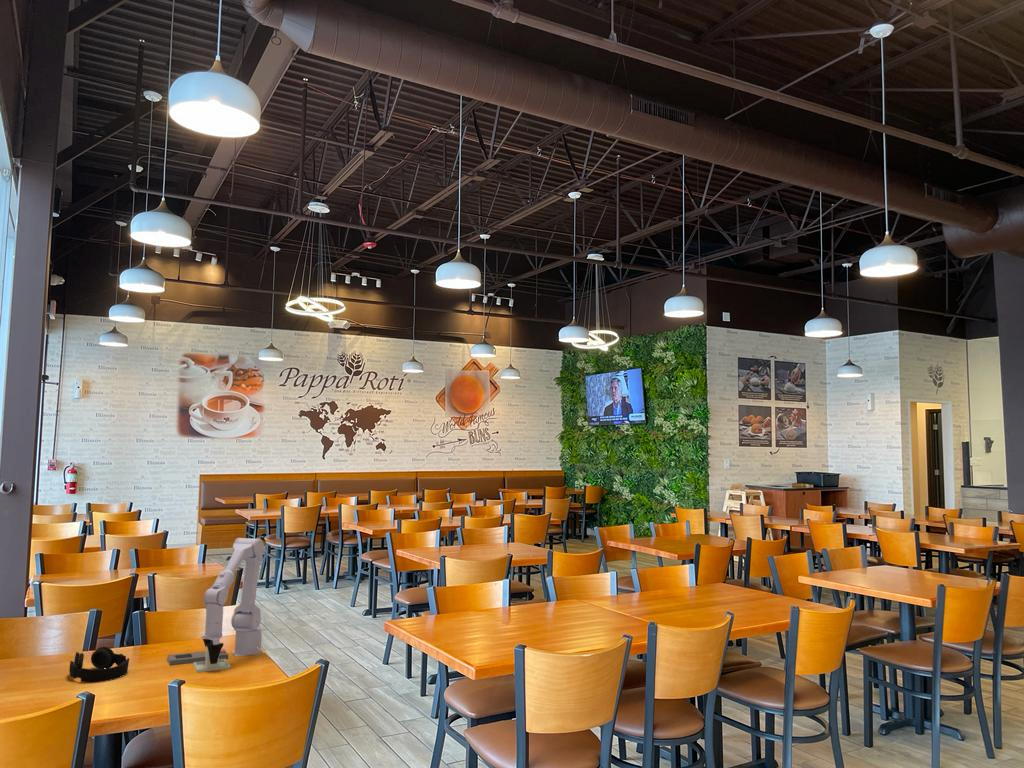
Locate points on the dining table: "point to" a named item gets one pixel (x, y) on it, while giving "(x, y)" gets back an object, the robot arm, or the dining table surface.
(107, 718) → the dining table surface
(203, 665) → the tray
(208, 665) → the plug
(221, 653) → the power strip
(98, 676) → the headphones
